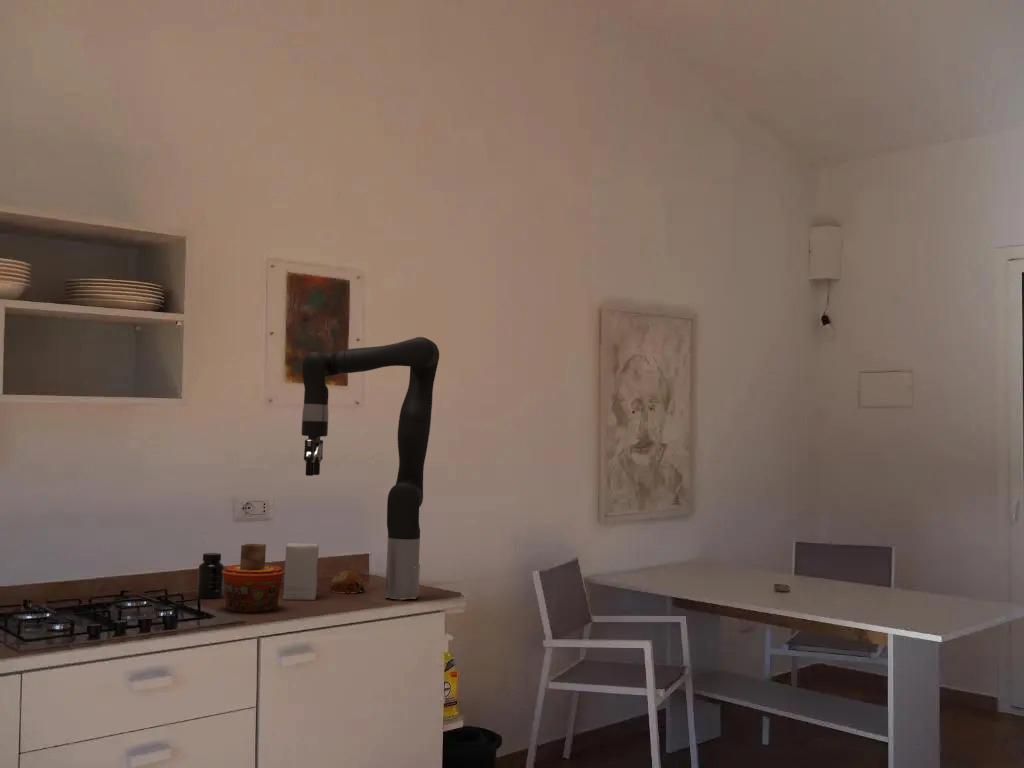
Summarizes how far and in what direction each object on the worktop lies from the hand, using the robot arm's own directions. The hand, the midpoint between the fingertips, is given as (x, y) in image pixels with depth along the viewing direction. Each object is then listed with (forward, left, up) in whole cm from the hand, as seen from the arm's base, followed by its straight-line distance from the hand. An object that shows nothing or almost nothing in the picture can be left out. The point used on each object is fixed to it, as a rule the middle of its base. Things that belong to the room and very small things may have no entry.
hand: (312, 475), depth 290 cm
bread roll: (-11, -6, -34) cm, 37 cm away
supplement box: (0, +9, -34) cm, 36 cm away
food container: (+8, +30, -34) cm, 46 cm away
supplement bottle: (+24, +14, -34) cm, 44 cm away
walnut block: (+8, +30, -24) cm, 39 cm away
